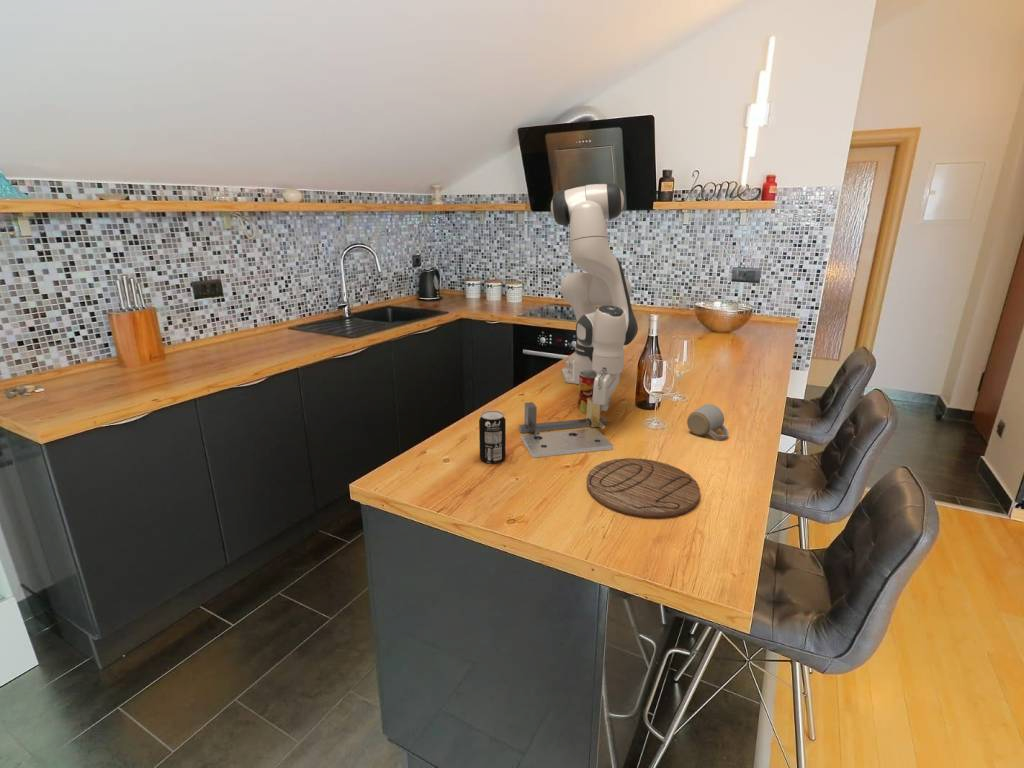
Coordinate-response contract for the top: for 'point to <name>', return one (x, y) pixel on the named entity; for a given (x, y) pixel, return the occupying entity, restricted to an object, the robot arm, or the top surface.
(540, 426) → the rail
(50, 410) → the top surface
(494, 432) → the beverage can
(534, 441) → the bolt plate
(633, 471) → the trivet
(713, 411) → the ceramic mug
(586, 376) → the canned food
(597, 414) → the sliding leg
